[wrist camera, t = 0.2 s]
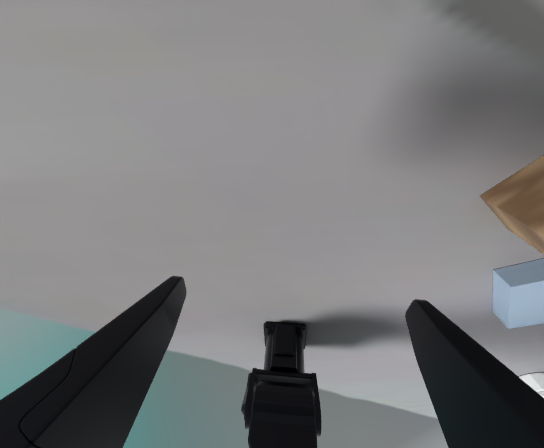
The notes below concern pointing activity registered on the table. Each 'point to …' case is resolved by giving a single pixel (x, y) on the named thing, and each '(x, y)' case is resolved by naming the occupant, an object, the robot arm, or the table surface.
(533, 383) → the white cup
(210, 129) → the table surface
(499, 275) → the base slab
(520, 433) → the robot arm
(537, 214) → the walnut block
